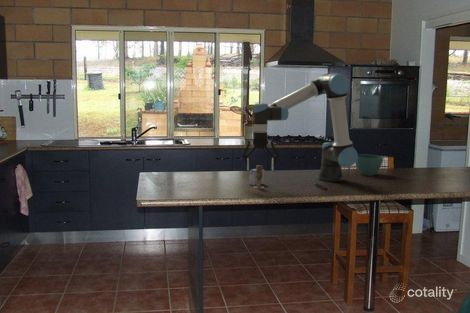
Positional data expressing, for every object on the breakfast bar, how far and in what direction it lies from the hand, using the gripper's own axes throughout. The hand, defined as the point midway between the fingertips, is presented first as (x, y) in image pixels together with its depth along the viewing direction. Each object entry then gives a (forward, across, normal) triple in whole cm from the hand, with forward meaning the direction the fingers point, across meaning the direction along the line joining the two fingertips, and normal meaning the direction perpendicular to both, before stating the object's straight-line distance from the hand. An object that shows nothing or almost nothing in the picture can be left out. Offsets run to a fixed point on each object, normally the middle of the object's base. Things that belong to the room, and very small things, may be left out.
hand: (260, 170), depth 280 cm
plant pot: (+12, -72, -52) cm, 90 cm away
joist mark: (+10, +1, 0) cm, 10 cm away
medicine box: (+10, +2, -10) cm, 14 cm away
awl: (+10, +1, 0) cm, 10 cm away
